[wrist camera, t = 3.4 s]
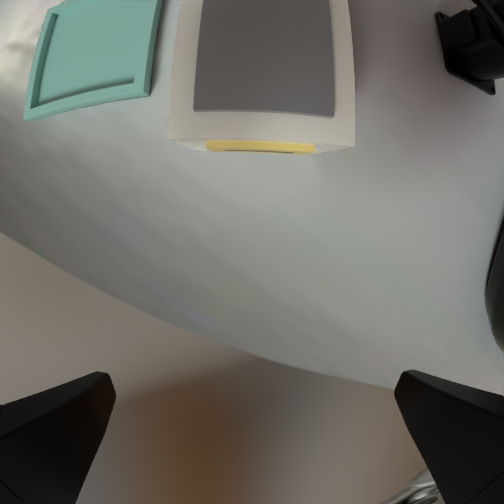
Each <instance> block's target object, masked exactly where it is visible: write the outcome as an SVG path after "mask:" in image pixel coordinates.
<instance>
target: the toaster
mask: <svg viewBox="0 0 504 504" xmlns="http://www.w3.org/2000/svg"><path fill="white" fill-rule="evenodd" d="M485 304H486V311H487V315H488V319H489V323H490V327H491V331H492V334H493V336H494V339H495V341H496V343H497V345H498V346H499V348H500V349H501V351H502V352H503V353H504V230H503V233H502V237H501V240H500V243H499V246H498V249H497V253H496V256H495V259H494V263H493V266H492V270H491V274H490V277H489V282H488V286H487V291H486V301H485Z"/></svg>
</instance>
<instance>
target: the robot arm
mask: <svg viewBox="0 0 504 504" xmlns="http://www.w3.org/2000/svg"><path fill="white" fill-rule="evenodd" d="M472 1H473V3H475V4H476V5H477V7H475V8H473V9H471V10H469V11H468V10H467V9H465V10H463V11H461V12H459V13H457V14H456V15H454V16H452V17H449V16H447V15H445V14H443V13H441V12H437V13H436V14H435V17H436V20H437V25H438V29H439V33H440V38H441V43H442V48H443V54H444V60H445V66H446V69H447V71H448V72H449V73H450V74H452V75H454V76H456V77H458V78H460V79H462V80H464V81H466V82H468V83H470V84H472V85H474V86H476V87H478V88H479V89H481V90H483V91H485V92H486V93H488V94H490V95H495V93H496V91H495V84H494V79H499V78H504V0H472ZM451 68H452V69H451ZM394 396H395V399H396V402H397V404H398V407H399V409H400V411H401V414H402V417H403V419H404V422H405V424H406V426H407V429H408V431H409V433H410V434H411V437H412V438H413V440H414V442H415V444H416V446H417V448H418V450H419V452H420V453H421V455H422V457H423V459H424V461H425V463H426V465H427V467H428V469H429V471H430V473H431V475H432V477H433V479H434V481H435V483H436V485H437V487H438V489H439V491H440V493H441V495H442V497H443V500H444V502H445V504H504V396H503V395H499V394H495V393H491V392H487V391H484V390H480V389H476V388H473V387H469V386H466V385H462V384H459V383H455V382H452V381H449V380H445V379H442V378H439V377H436V376H432V375H429V374H426V373H423V372H420V371H417V370H408V371H404V372H403V373H402V374H401V376H400V378H399V381H398V383H397V385H396V388H395V391H394ZM115 400H116V393H115V389H114V386H113V384H112V381H111V378H110V376H109V374H108V373H104V372H99V371H96V372H94V373H91V374H88V375H86V376H83V377H81V378H78V379H75V380H73V381H70V382H68V383H65V384H62V385H59V386H56V387H54V388H51V389H48V390H45V391H43V392H39V393H37V394H34V395H31V396H28V397H25V398H22V399H19V400H16V401H13V402H10V403H7V404H5V405H0V504H75V503H76V501H77V498H78V496H79V493H80V491H81V488H82V486H83V483H84V481H85V479H86V476H87V474H88V471H89V469H90V467H91V464H92V462H93V460H94V457H95V455H96V453H97V451H98V448H99V446H100V444H101V442H102V439H103V437H104V435H105V432H106V429H107V425H108V422H109V419H110V416H111V413H112V409H113V406H114V403H115Z"/></svg>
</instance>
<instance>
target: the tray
mask: <svg viewBox="0 0 504 504" xmlns="http://www.w3.org/2000/svg"><path fill="white" fill-rule="evenodd" d="M162 3H163V0H68V1H66V2H63V3H61V4H59V5H57V6H54V7H52V8H50V9H48V11H47V14H46V17H45V20H44V23H43V26H42V29H41V32H40V36H39V39H38V43H37V46H36V50H35V54H34V58H33V63H32V67H31V72H30V77H29V82H28V88H27V95H26V102H25V110H24V119H23V120H26V121H35V120H38V119H42V118H45V117H48V116H52V115H55V114H59V113H63V112H67V111H71V110H75V109H79V108H83V107H88V106H92V105H97V104H102V103H108V102H114V101H119V100H126V99H133V98H140V97H148V96H150V84H151V74H152V66H153V57H154V50H155V43H156V36H157V30H158V24H159V19H160V13H161V8H162Z"/></svg>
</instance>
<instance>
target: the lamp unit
mask: <svg viewBox="0 0 504 504" xmlns="http://www.w3.org/2000/svg"><path fill="white" fill-rule="evenodd" d="M167 139H168V140H171V141H174V142H176V143H179V144H182V145H184V146H187V147H189V148H192V149H195V150H197V151H203V150H210V151H212V152H250V153H275V154H291V155H305V154H317V153H322V152H328V151H334V150H340V149H346V148H352V147H355V77H354V58H353V44H352V33H351V23H350V14H349V6H348V0H181V5H180V11H179V17H178V24H177V31H176V38H175V46H174V54H173V64H172V74H171V85H170V98H169V114H168V136H167Z"/></svg>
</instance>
